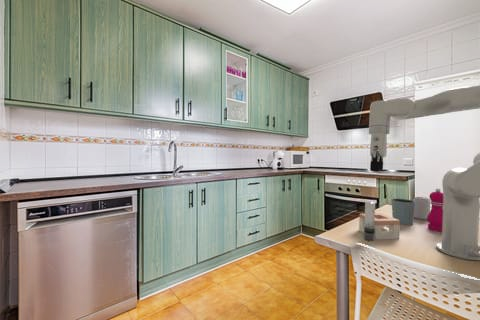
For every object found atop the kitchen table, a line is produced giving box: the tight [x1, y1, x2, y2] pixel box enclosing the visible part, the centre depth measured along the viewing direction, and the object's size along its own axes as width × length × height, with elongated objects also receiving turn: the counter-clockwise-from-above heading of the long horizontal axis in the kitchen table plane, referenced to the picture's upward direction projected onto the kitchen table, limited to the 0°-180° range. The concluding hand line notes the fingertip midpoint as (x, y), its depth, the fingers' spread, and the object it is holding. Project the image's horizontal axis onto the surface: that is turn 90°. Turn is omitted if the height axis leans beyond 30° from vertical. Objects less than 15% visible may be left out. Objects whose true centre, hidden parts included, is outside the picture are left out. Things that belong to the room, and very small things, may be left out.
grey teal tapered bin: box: [391, 198, 415, 226], centre depth 116 cm, size 10×10×12 cm
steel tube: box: [363, 201, 376, 242], centre depth 93 cm, size 4×4×16 cm
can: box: [412, 196, 431, 221], centre depth 123 cm, size 8×8×12 cm
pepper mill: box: [426, 188, 443, 233], centre depth 106 cm, size 7×7×20 cm
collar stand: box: [358, 212, 401, 240], centre depth 99 cm, size 11×11×8 cm
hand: (376, 170), depth 94 cm, fingers open, 9 cm apart
